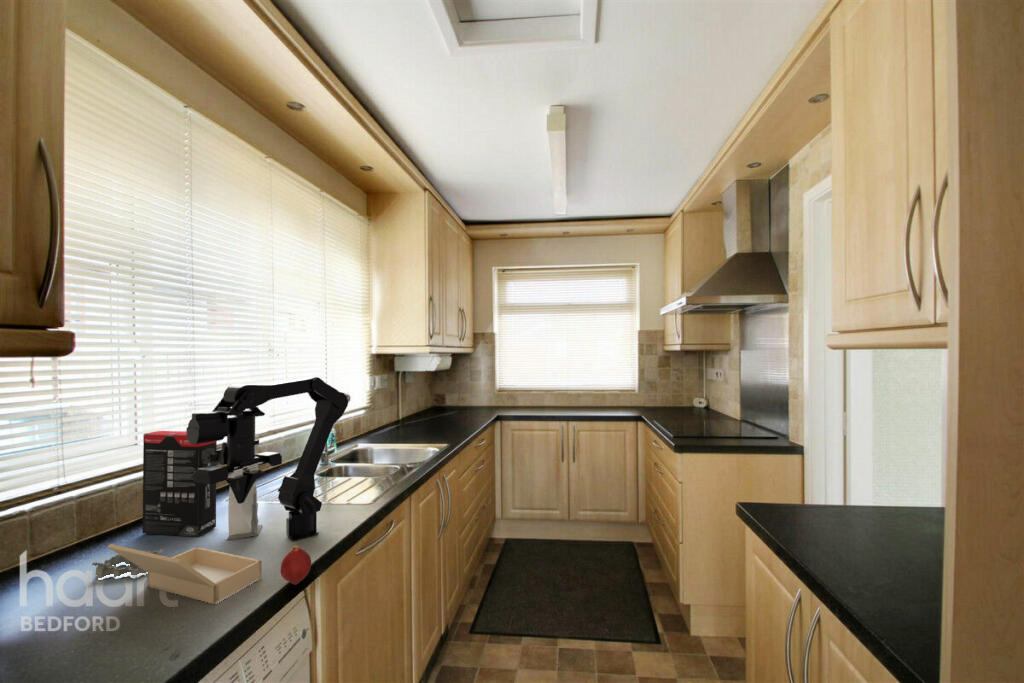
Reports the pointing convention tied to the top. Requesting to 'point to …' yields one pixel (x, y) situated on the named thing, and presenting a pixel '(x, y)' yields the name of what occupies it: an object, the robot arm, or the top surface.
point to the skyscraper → (244, 513)
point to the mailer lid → (162, 565)
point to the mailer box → (210, 575)
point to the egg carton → (108, 569)
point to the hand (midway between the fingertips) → (240, 503)
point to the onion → (295, 565)
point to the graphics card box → (176, 486)
